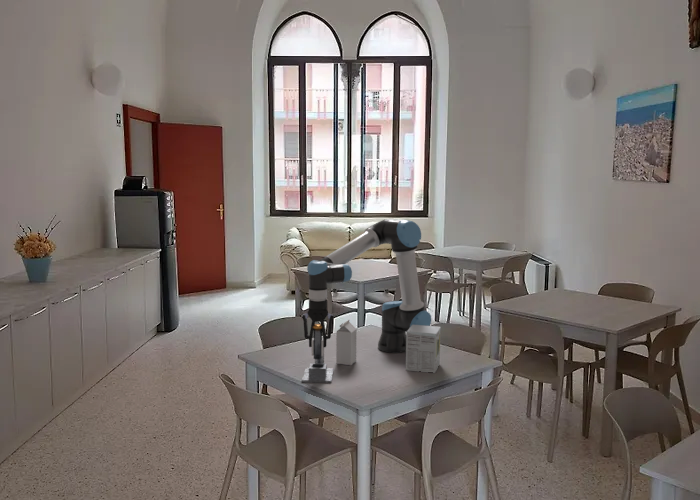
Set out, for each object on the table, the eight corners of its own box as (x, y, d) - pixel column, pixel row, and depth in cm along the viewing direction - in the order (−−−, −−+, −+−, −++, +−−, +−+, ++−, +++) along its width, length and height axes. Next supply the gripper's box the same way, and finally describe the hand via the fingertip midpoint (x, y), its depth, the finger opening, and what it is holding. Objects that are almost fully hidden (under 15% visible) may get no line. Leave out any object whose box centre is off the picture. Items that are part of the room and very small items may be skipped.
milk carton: (356, 361, 284) (356, 320, 281) (351, 365, 277) (351, 323, 275) (341, 359, 286) (341, 318, 284) (336, 364, 279) (336, 322, 277)
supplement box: (435, 373, 267) (436, 333, 265) (405, 370, 271) (405, 331, 269) (440, 364, 280) (441, 326, 278) (411, 361, 284) (412, 324, 282)
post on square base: (333, 370, 270) (333, 343, 269) (331, 383, 255) (331, 354, 253) (306, 370, 271) (305, 343, 269) (301, 382, 255) (301, 353, 253)
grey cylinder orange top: (323, 356, 262) (323, 324, 261) (322, 360, 258) (322, 326, 256) (312, 356, 262) (312, 323, 261) (311, 359, 258) (311, 326, 256)
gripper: (338, 297, 260) (337, 352, 263) (299, 297, 261) (299, 351, 264) (337, 301, 253) (336, 357, 256) (296, 300, 254) (296, 356, 256)
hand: (317, 354), depth 260 cm, fingers closed on grey cylinder orange top, 3 cm apart
